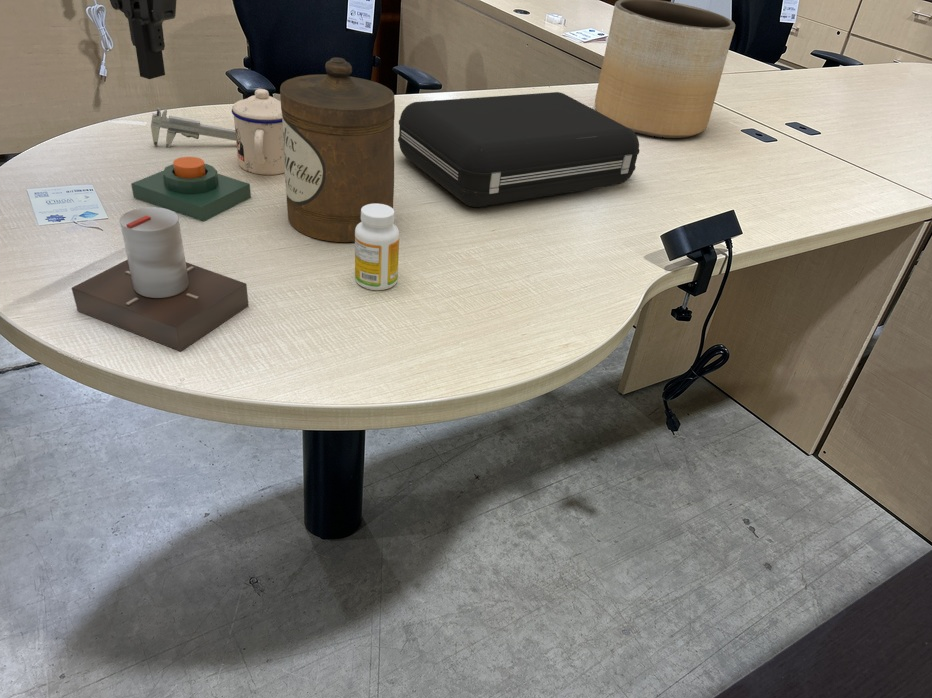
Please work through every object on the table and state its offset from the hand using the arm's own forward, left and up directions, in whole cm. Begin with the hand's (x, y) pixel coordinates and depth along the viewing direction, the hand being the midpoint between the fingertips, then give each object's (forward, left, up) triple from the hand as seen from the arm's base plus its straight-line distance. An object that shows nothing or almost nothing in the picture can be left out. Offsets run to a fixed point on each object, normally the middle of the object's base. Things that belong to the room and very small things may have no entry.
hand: (152, 75), depth 94 cm
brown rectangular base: (+19, -22, -17) cm, 33 cm away
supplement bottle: (+35, -3, -17) cm, 39 cm away
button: (+2, +2, -13) cm, 14 cm away
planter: (+48, +92, -17) cm, 105 cm away
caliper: (-8, +20, -17) cm, 28 cm away
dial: (+19, -22, -14) cm, 32 cm away
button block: (+2, +2, -17) cm, 17 cm away
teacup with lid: (+3, +17, -17) cm, 25 cm away
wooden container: (+22, +9, -17) cm, 29 cm away
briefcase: (+33, +45, -17) cm, 58 cm away
